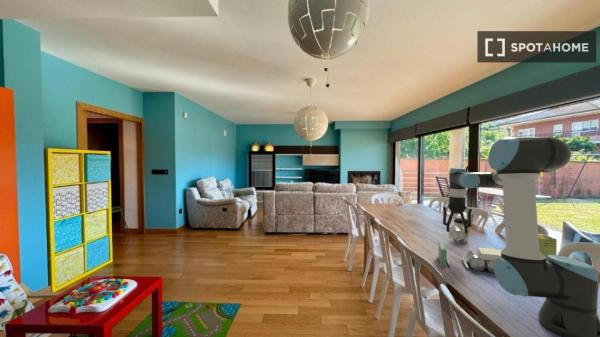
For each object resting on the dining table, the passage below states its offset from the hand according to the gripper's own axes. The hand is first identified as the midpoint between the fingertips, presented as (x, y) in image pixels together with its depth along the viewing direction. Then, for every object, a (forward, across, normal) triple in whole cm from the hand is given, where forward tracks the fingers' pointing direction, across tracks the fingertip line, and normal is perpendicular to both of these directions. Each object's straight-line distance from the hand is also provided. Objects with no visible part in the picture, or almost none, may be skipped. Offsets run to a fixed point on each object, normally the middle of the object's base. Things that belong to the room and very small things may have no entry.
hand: (456, 238), depth 137 cm
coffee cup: (+14, -10, -48) cm, 51 cm away
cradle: (+14, 0, 0) cm, 14 cm away
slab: (+8, -18, 0) cm, 20 cm away
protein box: (+14, -38, -17) cm, 44 cm away
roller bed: (+14, -16, 0) cm, 21 cm away
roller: (0, -1, 0) cm, 1 cm away
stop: (+14, +7, 0) cm, 15 cm away
